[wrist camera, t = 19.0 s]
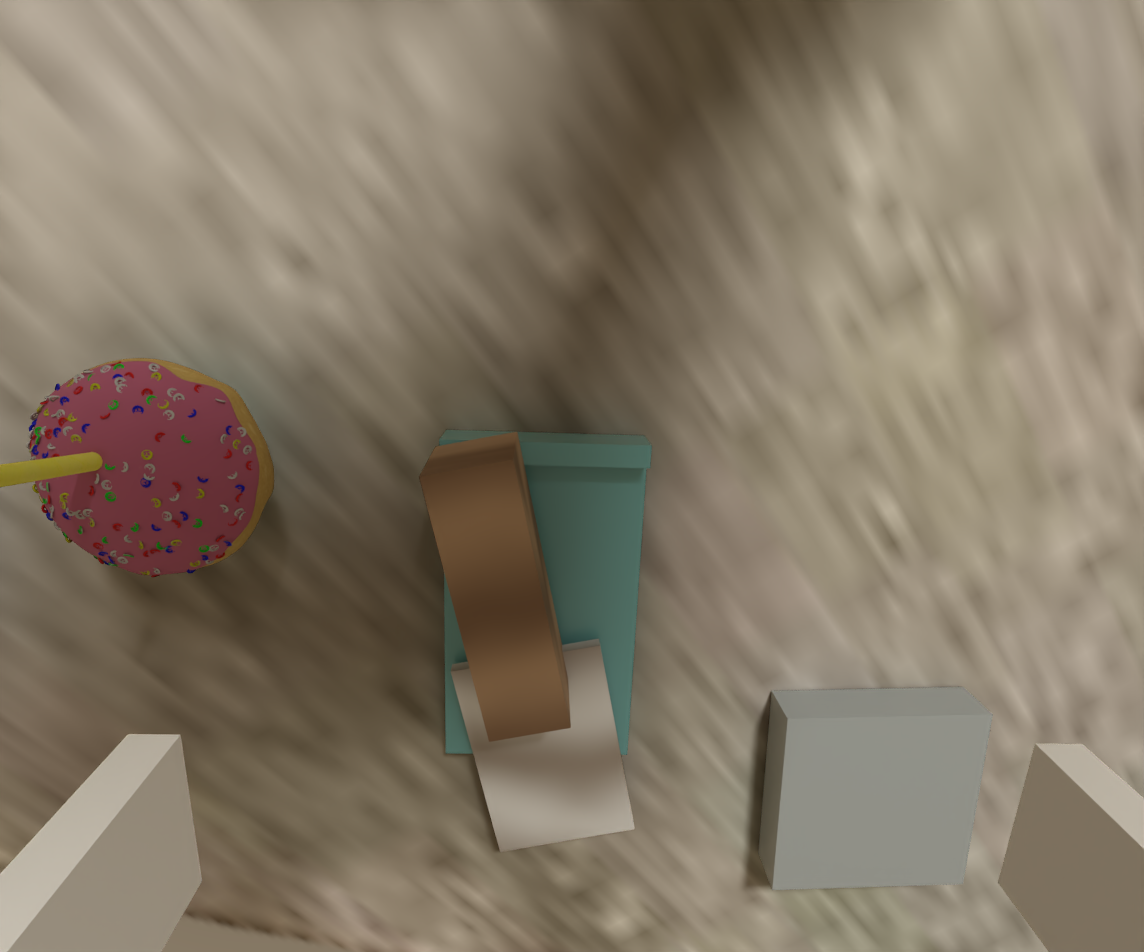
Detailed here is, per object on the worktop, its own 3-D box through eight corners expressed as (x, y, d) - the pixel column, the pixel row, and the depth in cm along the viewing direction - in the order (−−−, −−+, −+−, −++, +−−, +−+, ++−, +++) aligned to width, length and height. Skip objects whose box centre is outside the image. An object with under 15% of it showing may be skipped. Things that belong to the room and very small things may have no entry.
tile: (787, 718, 33) (772, 889, 35) (992, 714, 33) (963, 884, 36) (769, 687, 35) (756, 849, 38) (960, 683, 36) (934, 843, 38)
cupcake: (70, 438, 30) (-221, 526, 19) (197, 305, 29) (-31, 311, 18) (222, 570, 32) (41, 723, 21) (347, 449, 31) (230, 541, 19)
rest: (446, 429, 31) (439, 439, 29) (644, 435, 31) (651, 445, 29) (448, 738, 35) (442, 766, 33) (624, 739, 35) (629, 767, 33)
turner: (394, 453, 29) (372, 485, 25) (558, 423, 29) (560, 450, 25) (500, 842, 36) (495, 913, 32) (633, 819, 36) (644, 888, 32)
